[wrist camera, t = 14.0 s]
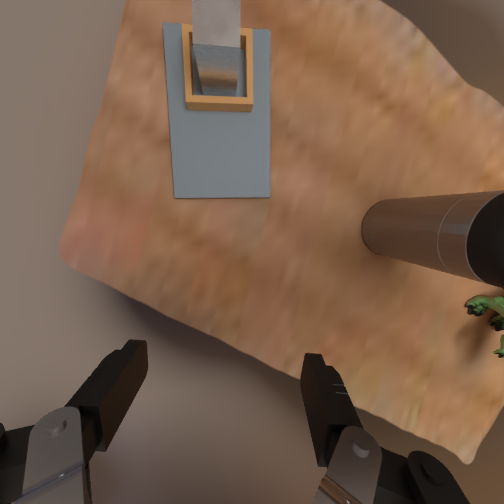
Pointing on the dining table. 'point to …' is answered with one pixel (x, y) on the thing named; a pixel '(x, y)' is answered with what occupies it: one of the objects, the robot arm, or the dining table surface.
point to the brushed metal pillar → (217, 45)
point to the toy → (500, 321)
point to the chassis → (219, 120)
